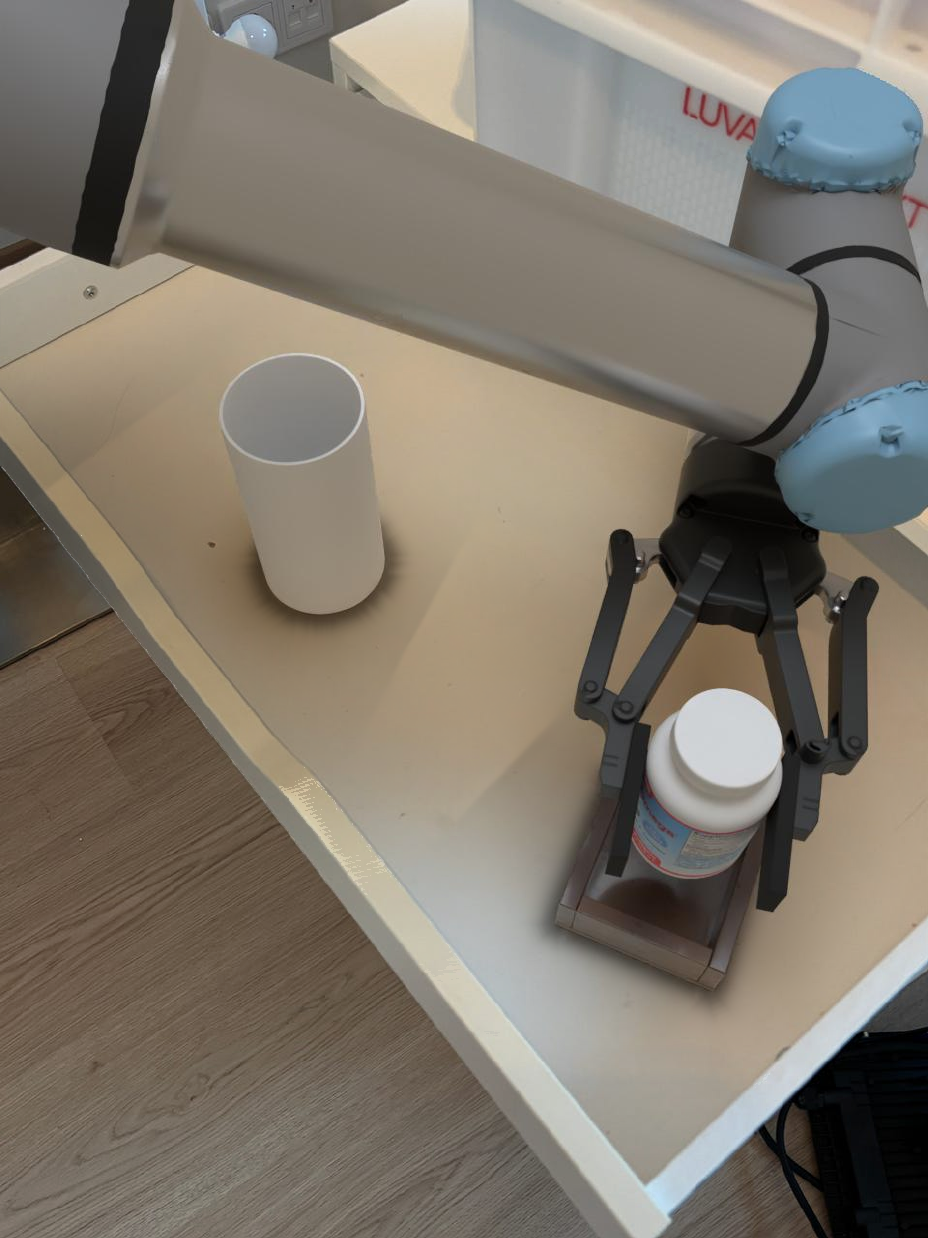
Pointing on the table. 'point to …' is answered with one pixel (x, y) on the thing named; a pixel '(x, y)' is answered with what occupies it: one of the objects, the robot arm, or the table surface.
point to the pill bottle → (707, 783)
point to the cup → (306, 479)
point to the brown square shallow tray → (659, 906)
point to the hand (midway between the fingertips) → (693, 883)
